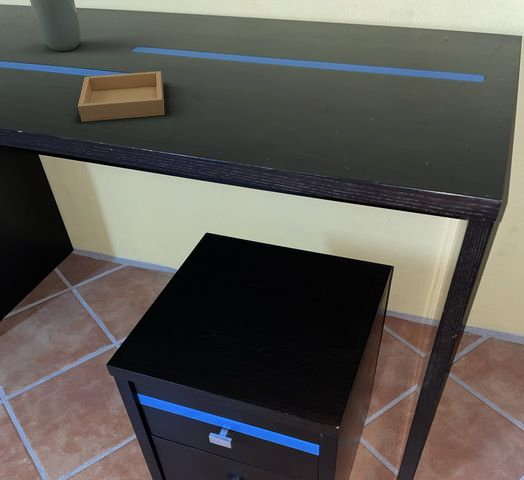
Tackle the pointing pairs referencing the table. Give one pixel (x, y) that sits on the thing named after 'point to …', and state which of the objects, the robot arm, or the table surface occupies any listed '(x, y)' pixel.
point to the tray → (121, 96)
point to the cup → (57, 23)
